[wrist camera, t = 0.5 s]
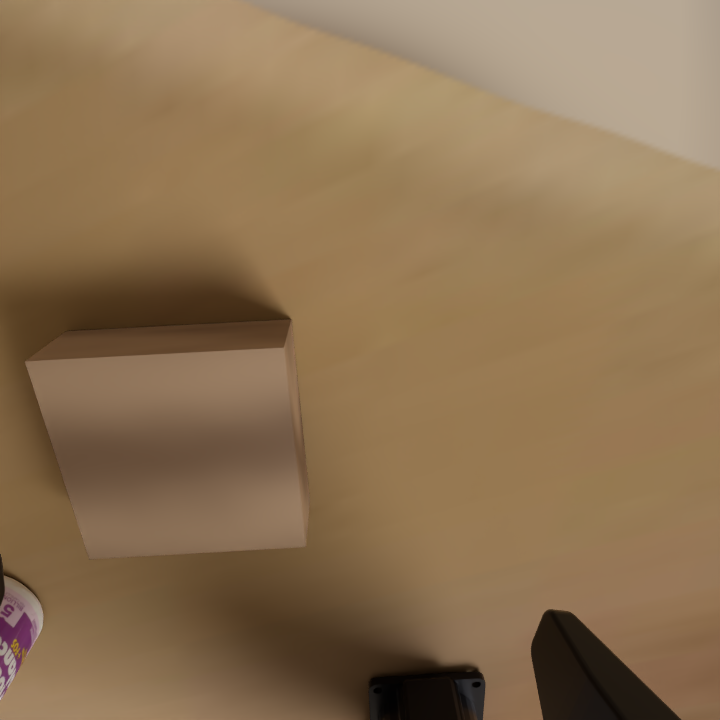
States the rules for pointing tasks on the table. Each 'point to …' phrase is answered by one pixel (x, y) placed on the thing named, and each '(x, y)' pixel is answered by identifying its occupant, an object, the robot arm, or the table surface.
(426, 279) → the table surface
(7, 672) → the pill bottle
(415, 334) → the table surface
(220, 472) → the tan flat square block
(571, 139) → the table surface
